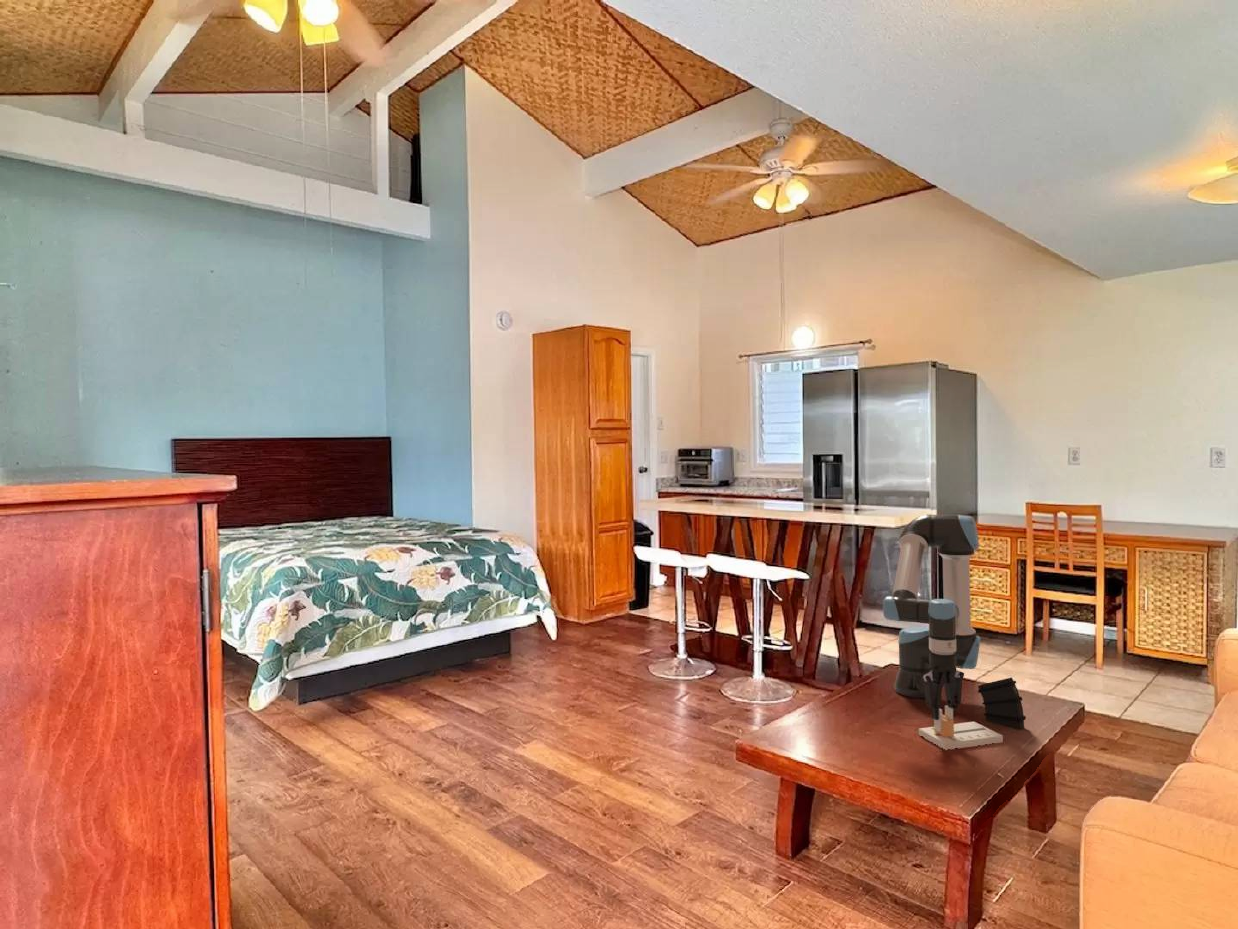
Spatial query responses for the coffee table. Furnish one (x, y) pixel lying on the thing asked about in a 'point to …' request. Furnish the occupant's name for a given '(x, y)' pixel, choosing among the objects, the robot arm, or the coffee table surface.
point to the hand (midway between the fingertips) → (943, 729)
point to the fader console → (962, 736)
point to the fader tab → (946, 727)
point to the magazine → (1003, 703)
